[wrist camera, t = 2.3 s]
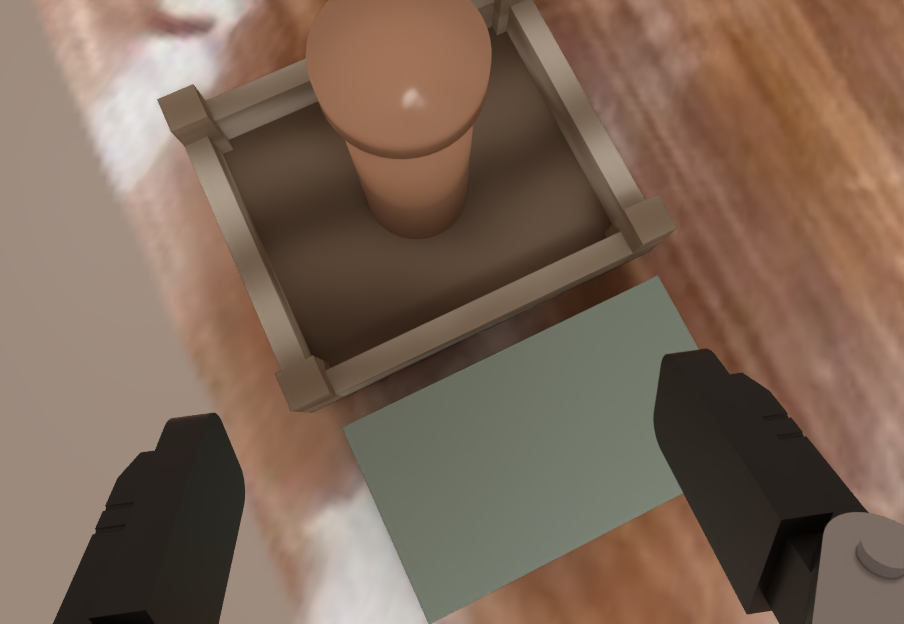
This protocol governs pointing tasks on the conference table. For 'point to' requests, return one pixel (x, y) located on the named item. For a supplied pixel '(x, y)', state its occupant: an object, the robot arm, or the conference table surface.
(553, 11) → the conference table surface
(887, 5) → the conference table surface
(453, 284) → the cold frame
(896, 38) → the conference table surface
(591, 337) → the green stand
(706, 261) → the conference table surface
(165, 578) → the robot arm
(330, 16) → the brown capped bottle
